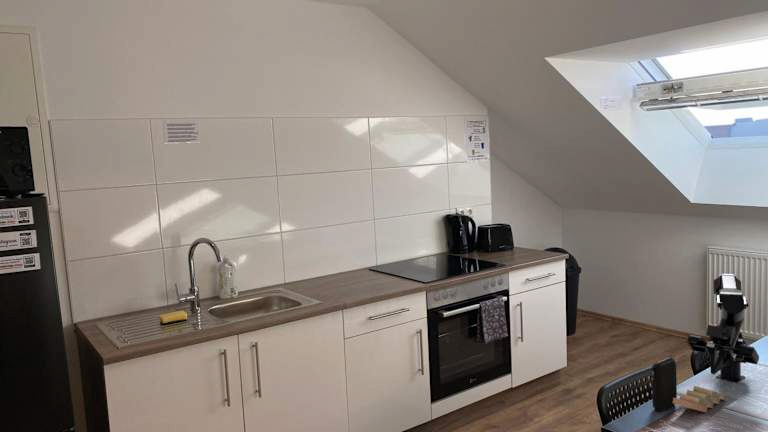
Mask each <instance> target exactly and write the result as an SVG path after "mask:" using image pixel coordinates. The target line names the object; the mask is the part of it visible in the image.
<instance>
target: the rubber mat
mask: <svg viewBox="0 0 768 432" xmlns="http://www.w3.org/2000/svg"><path fill="white" fill-rule="evenodd" d="M737 400H738V398H736V397H732V396H728V395H726V400H722V399H720V402H719V404H716V403H714V405H713V408H709V407H707V412H702V411H698V410H694V409H691V408H687V407H684V406H680V405H679V408H680V409H684V410H687V411H690V412H694V413H697V414H700V415H703V416H707V417H713V416H714V415H716V414H717V413H719V412H721V411H722V410H723V409H724V408H727V407H728V406H730V405H731V404H733V403H734V402H736V401H737Z"/></svg>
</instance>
